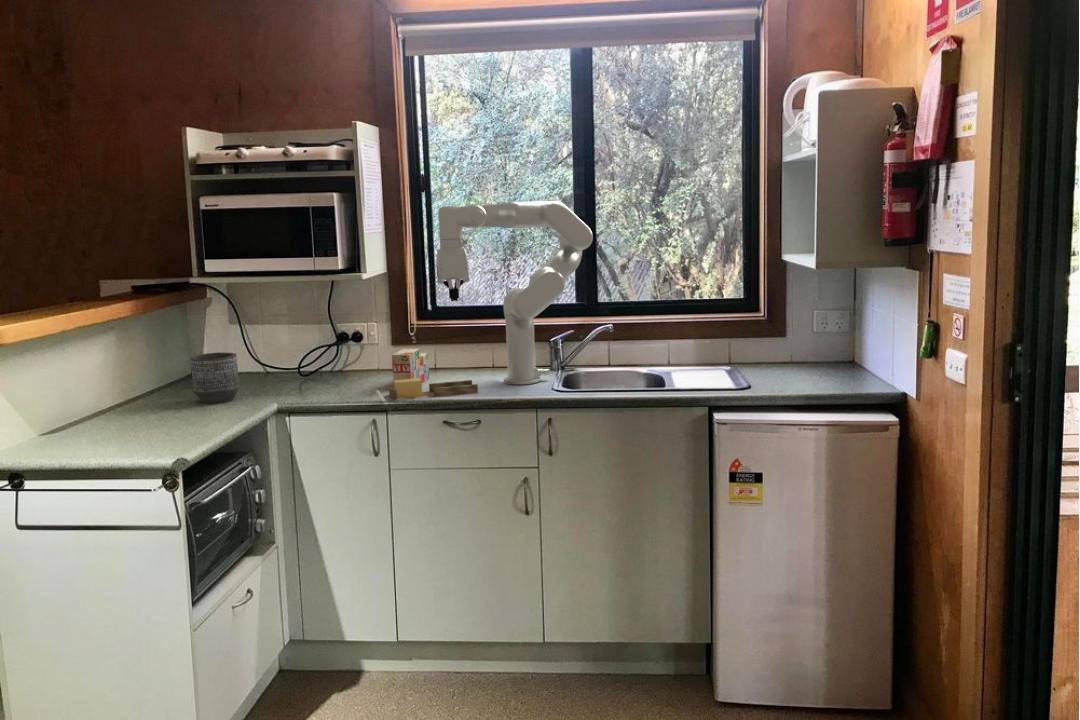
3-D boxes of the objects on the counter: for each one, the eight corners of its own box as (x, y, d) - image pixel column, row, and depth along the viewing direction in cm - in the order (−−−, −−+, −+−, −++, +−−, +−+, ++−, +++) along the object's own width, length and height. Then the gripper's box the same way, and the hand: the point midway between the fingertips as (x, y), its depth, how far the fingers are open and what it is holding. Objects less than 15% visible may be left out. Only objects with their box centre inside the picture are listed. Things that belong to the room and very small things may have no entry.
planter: (214, 407, 298) (209, 360, 295) (185, 403, 305) (180, 357, 303) (249, 398, 310) (245, 353, 307) (221, 395, 317) (217, 351, 315)
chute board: (471, 389, 311) (471, 379, 310) (478, 395, 302) (477, 384, 301) (389, 397, 303) (388, 387, 303) (393, 402, 294) (392, 392, 294)
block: (419, 393, 303) (418, 378, 303) (422, 396, 299) (421, 380, 298) (394, 395, 301) (393, 380, 300) (396, 398, 296) (396, 382, 296)
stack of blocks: (412, 378, 336) (410, 344, 334) (429, 378, 335) (428, 344, 333) (393, 390, 315) (391, 354, 313) (411, 390, 314) (409, 354, 312)
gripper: (471, 243, 314) (473, 298, 317) (426, 245, 310) (429, 301, 312) (476, 243, 307) (479, 300, 310) (430, 246, 302) (433, 303, 305)
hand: (454, 300), depth 311 cm, fingers closed
